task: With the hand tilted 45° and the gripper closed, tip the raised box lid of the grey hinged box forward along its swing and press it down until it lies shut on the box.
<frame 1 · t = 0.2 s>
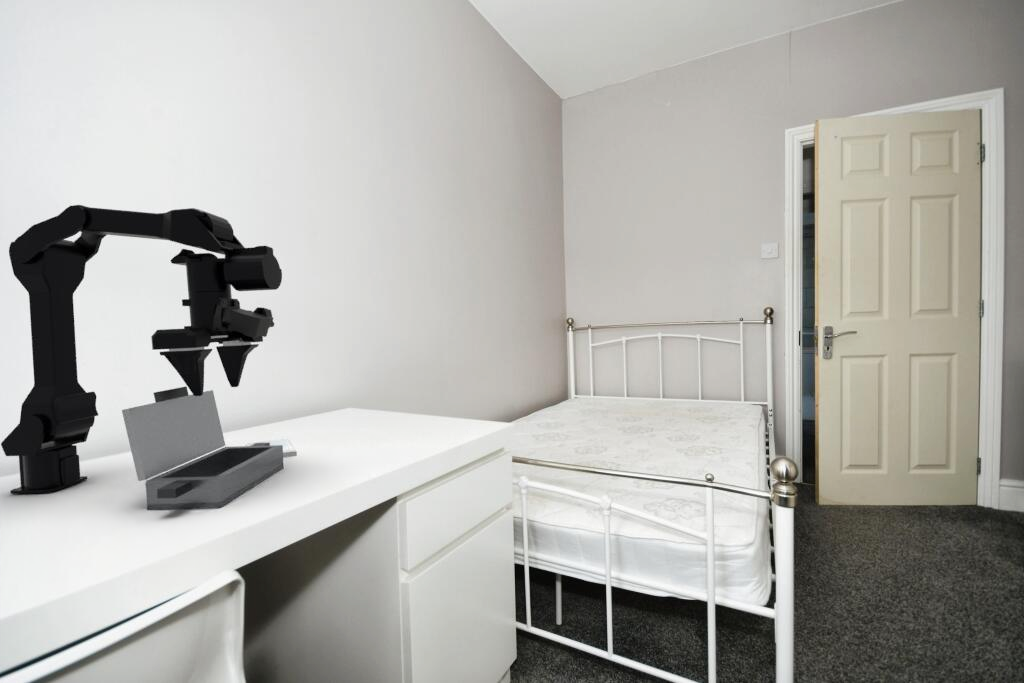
hand: (217, 391, 74), 15 cm above the table, tool pointing down, fingers open, 9 cm apart
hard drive: (270, 455, 93), on the table
box lid: (175, 426, 73), point 10 cm above the table, hinge at 100.0°
grey hinged box: (223, 486, 73), on the table
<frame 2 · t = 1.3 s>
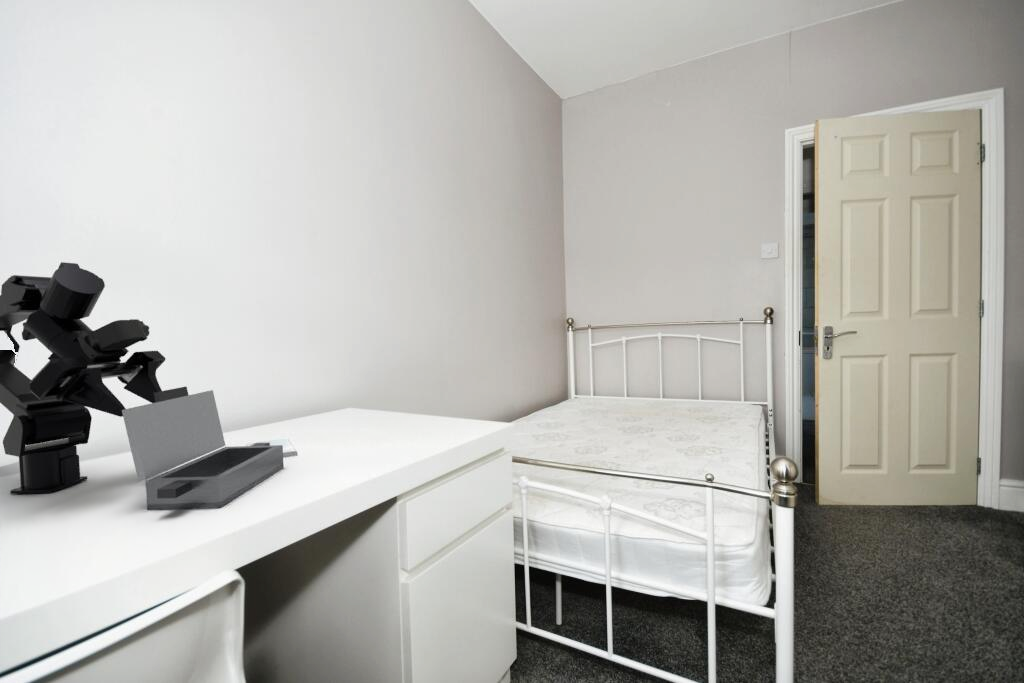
hand: (145, 409, 73), 12 cm above the table, tool tilted 45°, fingers open, 8 cm apart
nothing on the table moved.
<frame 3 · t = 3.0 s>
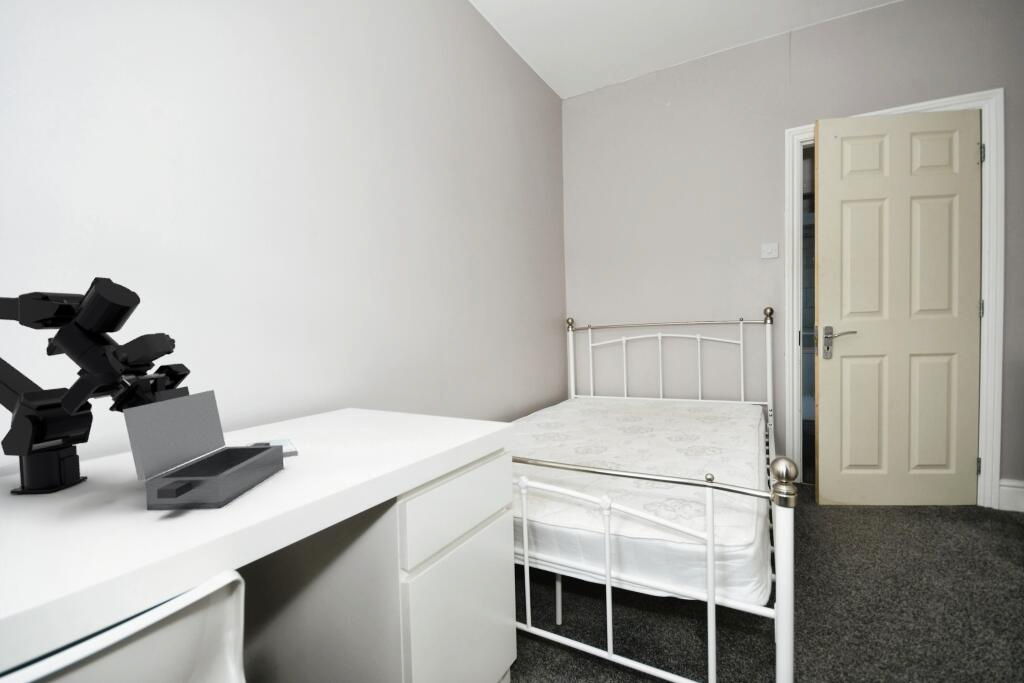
hand: (173, 422, 73), 10 cm above the table, tool tilted 45°, fingers closed, pressing on box lid
box lid: (176, 425, 73), point 10 cm above the table, hinge at 99.0°, touching gripper
everything else where it was.
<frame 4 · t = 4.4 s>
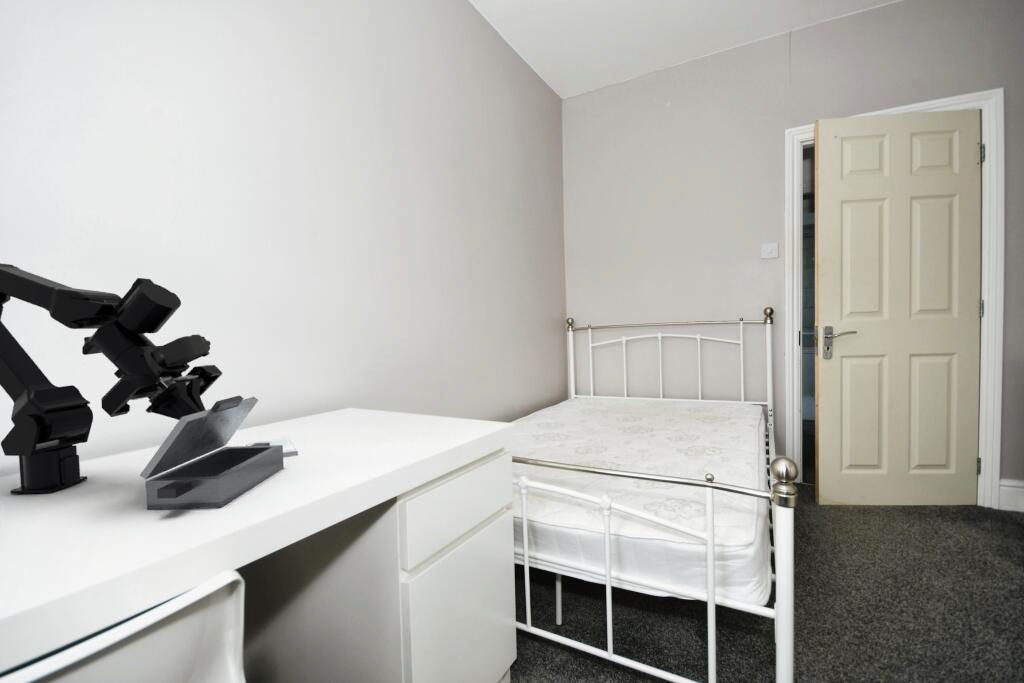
hand: (207, 425, 73), 10 cm above the table, tool tilted 45°, fingers closed, pressing on box lid
box lid: (206, 427, 73), point 9 cm above the table, hinge at 51.8°, touching gripper
everything else where it was.
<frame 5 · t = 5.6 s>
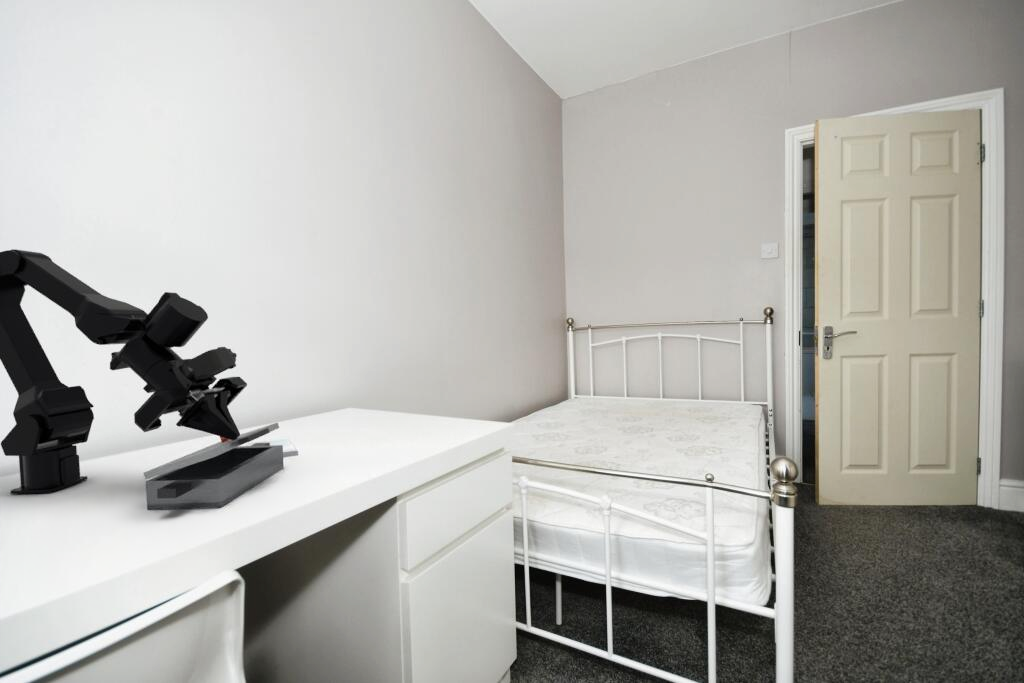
hand: (237, 437, 73), 8 cm above the table, tool tilted 45°, fingers closed, pressing on box lid
box lid: (223, 443, 73), point 7 cm above the table, hinge at 16.7°, touching gripper
everything else where it was.
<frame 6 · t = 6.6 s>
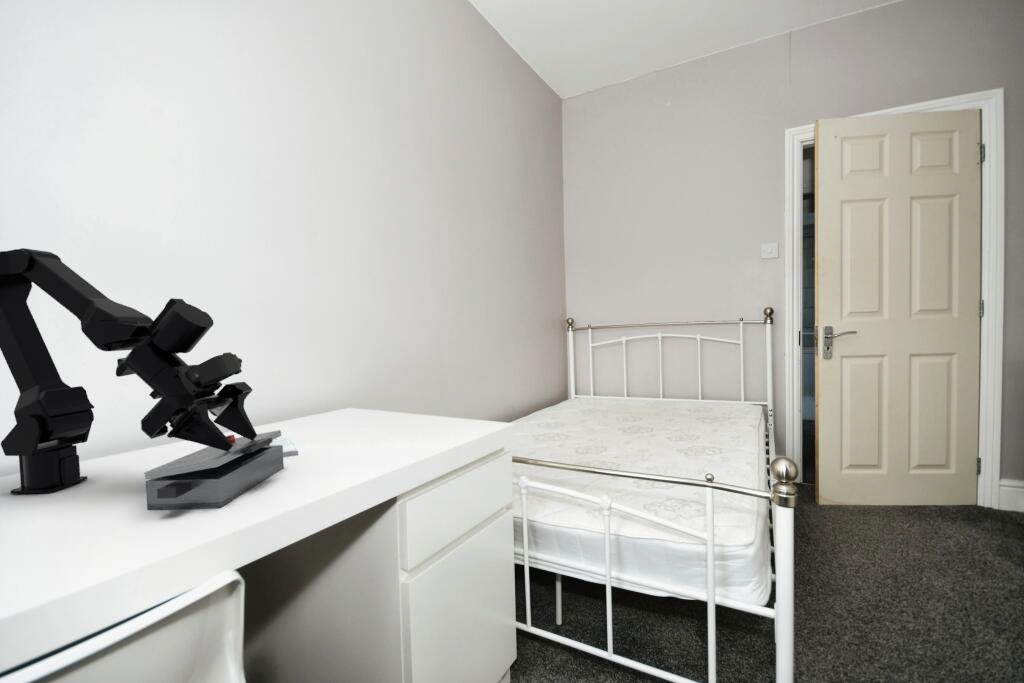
hand: (243, 443, 73), 7 cm above the table, tool tilted 45°, fingers open, 6 cm apart
box lid: (225, 447, 73), point 6 cm above the table, hinge at 8.6°, touching gripper
everything else where it was.
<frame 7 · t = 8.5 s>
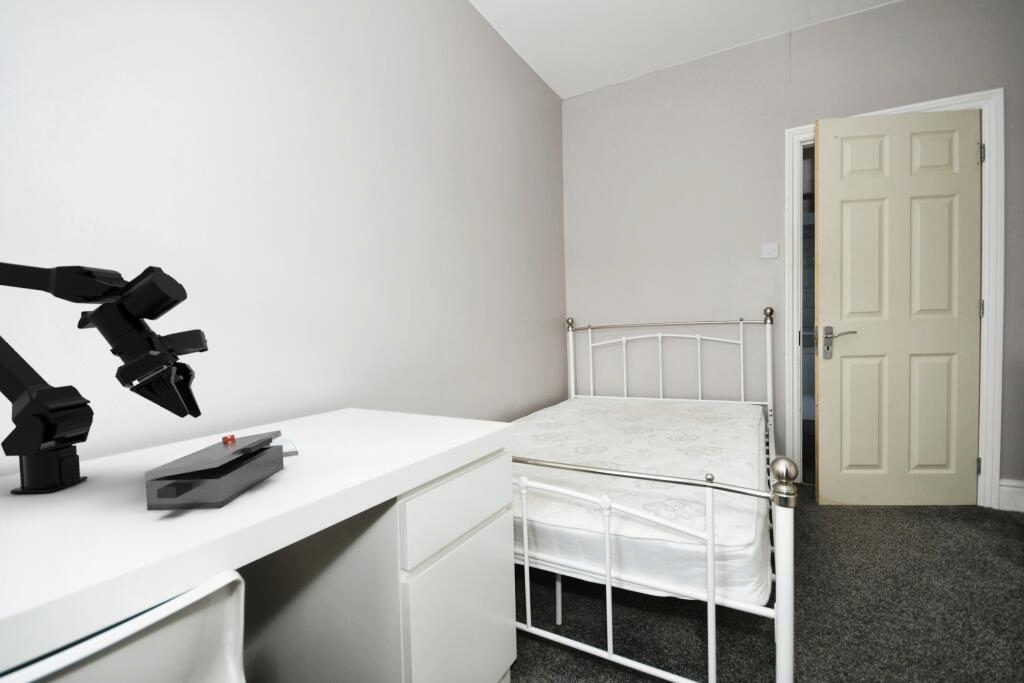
hand: (192, 416, 76), 11 cm above the table, tool tilted 35°, fingers open, 9 cm apart
box lid: (225, 447, 73), point 6 cm above the table, hinge at 8.6°
everything else where it was.
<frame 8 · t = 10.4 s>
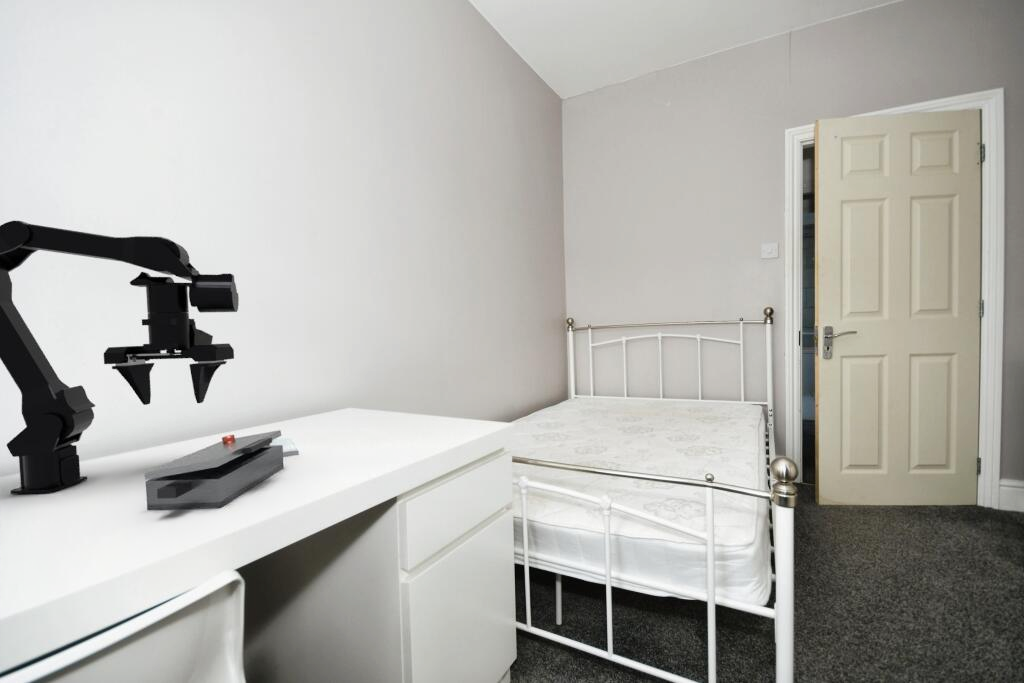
hand: (173, 403, 81), 12 cm above the table, tool pointing down, fingers open, 9 cm apart
nothing on the table moved.
at the end: box lid at +9° (first picture: +100°); the gripper is holding nothing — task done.
